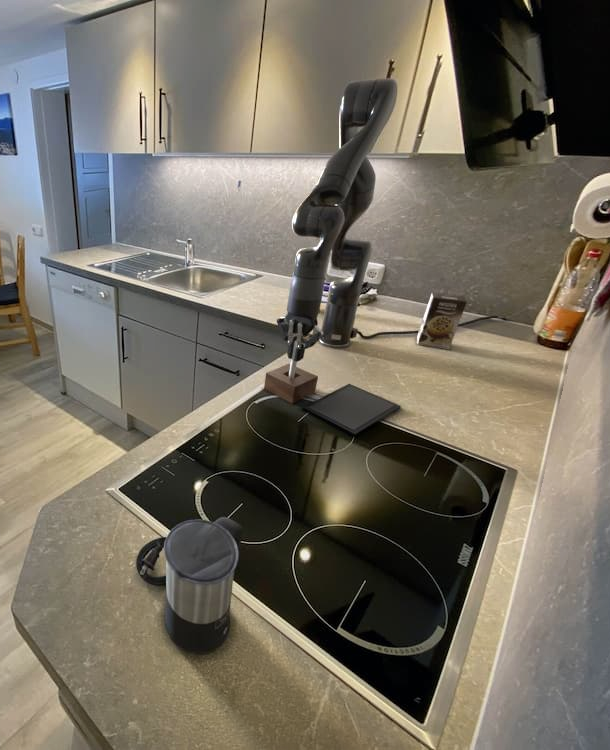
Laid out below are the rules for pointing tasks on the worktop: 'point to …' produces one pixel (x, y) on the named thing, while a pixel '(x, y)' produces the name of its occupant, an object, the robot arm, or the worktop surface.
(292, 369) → the stylus
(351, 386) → the tablet
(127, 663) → the worktop surface
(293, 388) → the stand
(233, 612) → the worktop surface
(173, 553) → the milk frother
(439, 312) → the brown upright rectangular box
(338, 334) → the robot arm
